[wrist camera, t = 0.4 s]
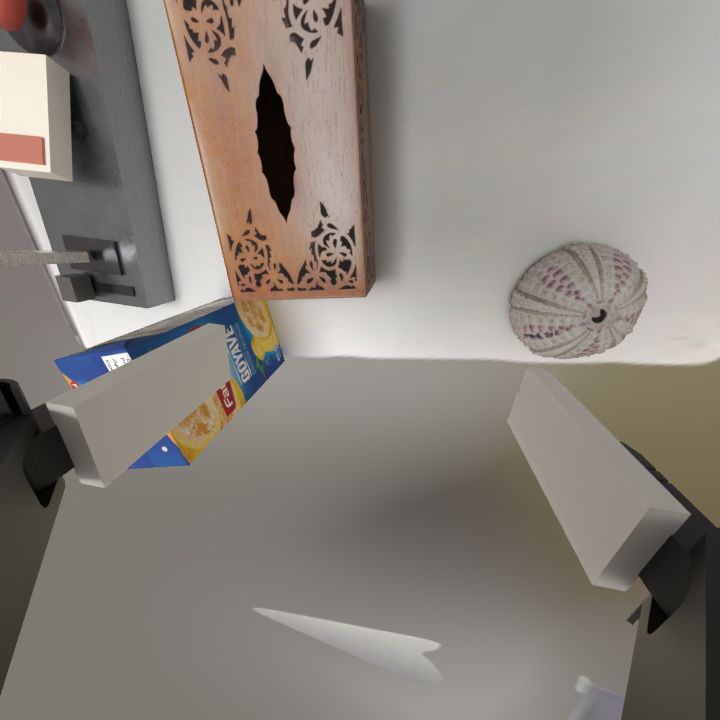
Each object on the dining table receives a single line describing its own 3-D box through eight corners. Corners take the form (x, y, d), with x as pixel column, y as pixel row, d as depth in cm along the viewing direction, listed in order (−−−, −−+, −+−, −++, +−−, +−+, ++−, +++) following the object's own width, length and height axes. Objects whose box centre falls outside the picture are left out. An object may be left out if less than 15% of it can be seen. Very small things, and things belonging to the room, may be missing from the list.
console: (20, -14, 31) (-66, -68, 25) (123, -9, 30) (58, -64, 24) (101, 289, 44) (57, 298, 39) (175, 300, 43) (140, 310, 38)
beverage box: (261, 290, 41) (125, 348, 21) (284, 361, 45) (189, 466, 25) (219, 298, 42) (53, 360, 22) (245, 366, 46) (125, 469, 26)
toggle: (77, 244, 36) (-52, 244, 28) (87, 247, 35) (-44, 248, 27) (83, 264, 37) (-40, 270, 29) (93, 267, 36) (-32, 274, 28)
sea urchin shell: (594, 357, 38) (639, 387, 31) (489, 342, 39) (508, 367, 32) (647, 249, 33) (716, 255, 25) (522, 235, 34) (554, 237, 26)
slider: (75, 273, 38) (55, 275, 35) (89, 275, 37) (69, 278, 35) (82, 296, 39) (63, 300, 37) (95, 298, 39) (77, 302, 36)
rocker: (15, 68, 29) (-16, 48, 27) (69, 72, 29) (42, 52, 27) (21, 175, 31) (-7, 165, 29) (72, 181, 30) (47, 171, 28)
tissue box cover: (375, 281, 38) (366, 297, 29) (271, 285, 41) (233, 300, 31) (365, 7, 28) (346, -100, 19) (227, 32, 30) (151, -53, 21)
